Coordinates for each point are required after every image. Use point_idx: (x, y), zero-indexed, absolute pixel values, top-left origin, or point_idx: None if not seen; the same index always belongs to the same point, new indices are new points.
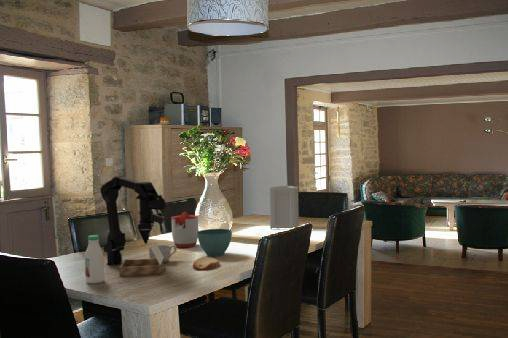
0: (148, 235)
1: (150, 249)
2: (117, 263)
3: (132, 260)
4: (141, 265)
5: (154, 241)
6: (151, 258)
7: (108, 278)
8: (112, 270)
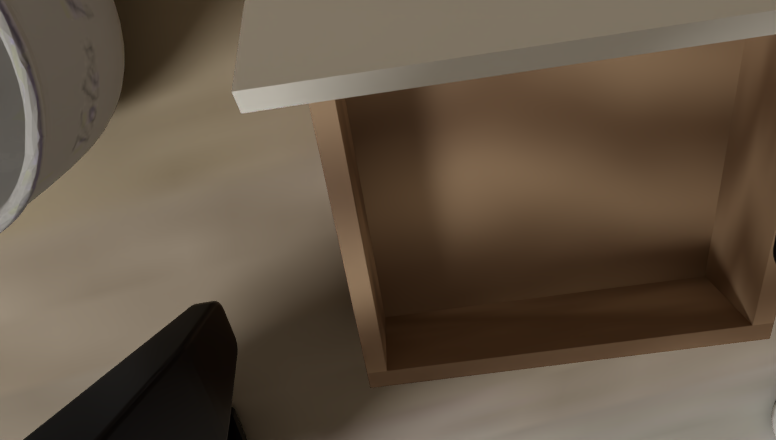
0: (168, 403)
1: (29, 198)
2: (237, 426)
3: (375, 308)
4: (360, 182)
5: (337, 83)
6: (104, 129)
7: (765, 341)
8: (463, 392)
